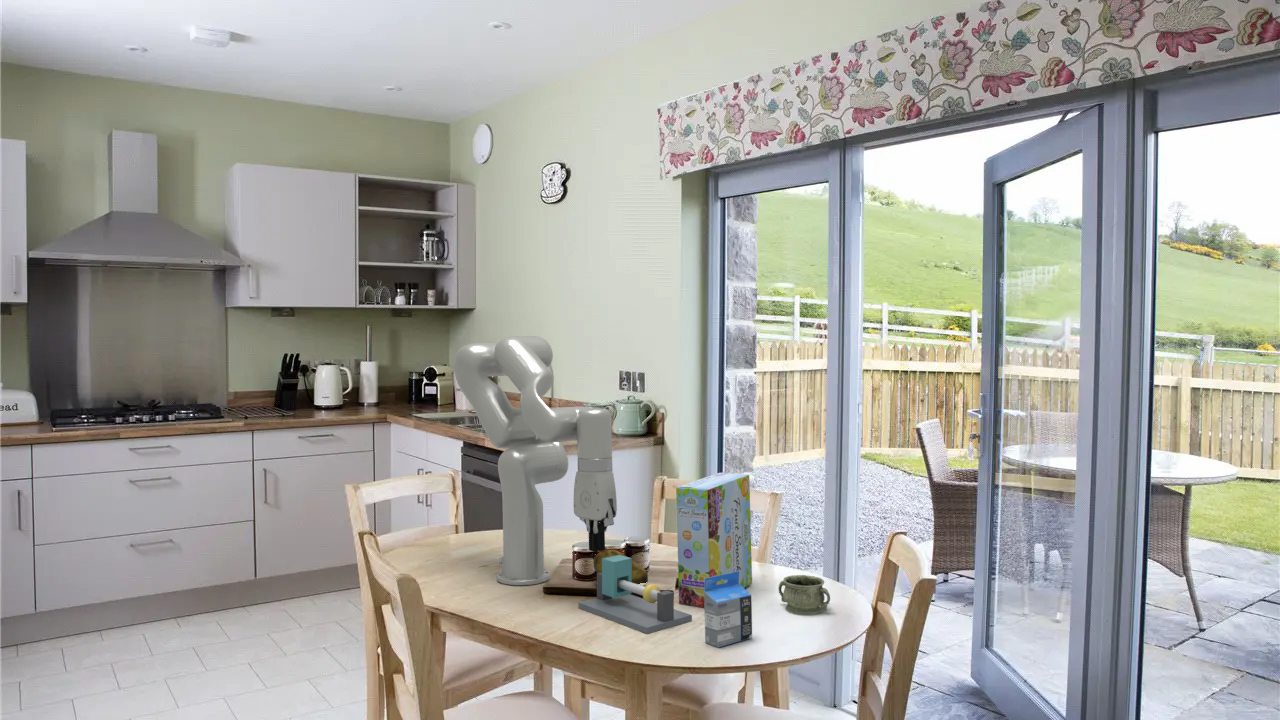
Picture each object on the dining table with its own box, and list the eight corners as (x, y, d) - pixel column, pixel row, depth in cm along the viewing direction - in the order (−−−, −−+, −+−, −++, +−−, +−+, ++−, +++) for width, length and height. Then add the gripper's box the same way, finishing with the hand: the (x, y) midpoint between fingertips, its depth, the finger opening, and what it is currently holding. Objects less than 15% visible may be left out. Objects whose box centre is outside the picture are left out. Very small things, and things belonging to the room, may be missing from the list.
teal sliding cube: (602, 593, 191) (601, 558, 191) (619, 589, 194) (619, 554, 194) (614, 597, 188) (613, 562, 188) (631, 593, 191) (631, 558, 191)
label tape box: (717, 648, 166) (717, 582, 166) (703, 642, 170) (703, 577, 169) (752, 639, 172) (752, 574, 171) (738, 633, 175) (738, 570, 174)
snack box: (719, 580, 213) (719, 471, 212) (753, 585, 208) (753, 474, 207) (674, 603, 194) (674, 484, 193) (711, 610, 190) (711, 488, 189)
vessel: (768, 609, 190) (768, 579, 190) (788, 599, 197) (788, 571, 197) (820, 620, 183) (820, 589, 182) (839, 609, 190) (839, 580, 189)
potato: (625, 595, 200) (625, 559, 200) (587, 584, 209) (587, 550, 209) (652, 588, 206) (652, 553, 206) (614, 577, 215) (614, 544, 215)
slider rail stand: (578, 608, 191) (578, 573, 191) (622, 597, 199) (622, 564, 199) (647, 633, 175) (646, 596, 174) (691, 620, 182) (691, 584, 182)
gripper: (560, 464, 199) (562, 547, 199) (602, 470, 188) (605, 558, 188) (587, 461, 204) (589, 542, 204) (630, 466, 192) (632, 552, 193)
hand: (597, 550), depth 196 cm, fingers closed
